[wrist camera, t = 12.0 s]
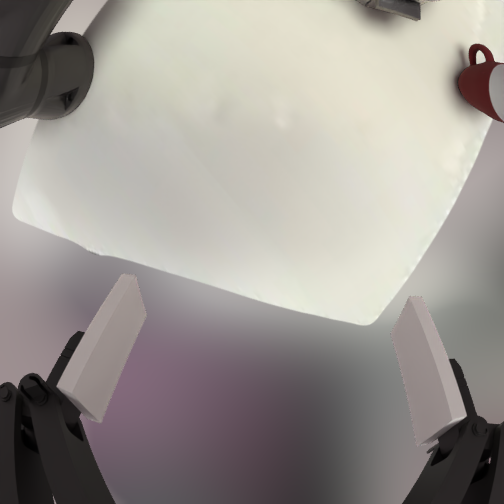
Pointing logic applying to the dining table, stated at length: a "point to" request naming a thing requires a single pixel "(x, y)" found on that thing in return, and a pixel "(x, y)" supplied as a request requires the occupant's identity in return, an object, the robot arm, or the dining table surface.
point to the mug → (484, 83)
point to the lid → (427, 0)
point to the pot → (396, 7)
